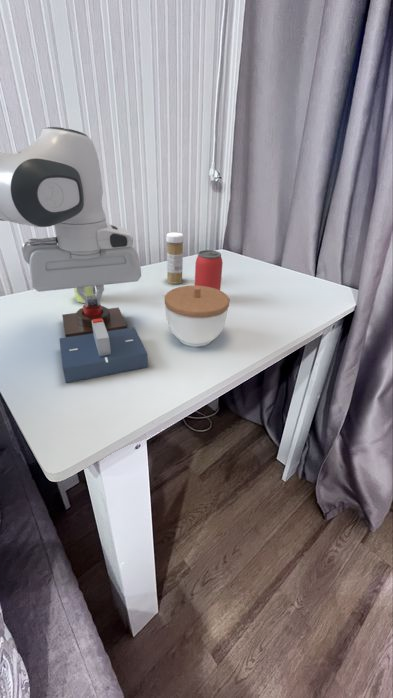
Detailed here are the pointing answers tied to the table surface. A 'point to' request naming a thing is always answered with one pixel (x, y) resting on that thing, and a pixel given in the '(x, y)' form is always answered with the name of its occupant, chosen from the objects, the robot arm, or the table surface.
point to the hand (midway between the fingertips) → (92, 305)
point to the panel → (87, 363)
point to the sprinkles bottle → (174, 257)
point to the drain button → (92, 311)
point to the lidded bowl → (196, 314)
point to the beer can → (208, 269)
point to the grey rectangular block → (101, 337)
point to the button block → (83, 325)
